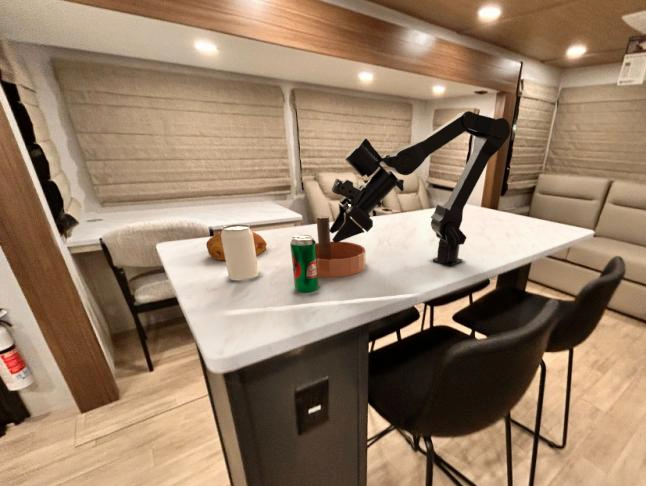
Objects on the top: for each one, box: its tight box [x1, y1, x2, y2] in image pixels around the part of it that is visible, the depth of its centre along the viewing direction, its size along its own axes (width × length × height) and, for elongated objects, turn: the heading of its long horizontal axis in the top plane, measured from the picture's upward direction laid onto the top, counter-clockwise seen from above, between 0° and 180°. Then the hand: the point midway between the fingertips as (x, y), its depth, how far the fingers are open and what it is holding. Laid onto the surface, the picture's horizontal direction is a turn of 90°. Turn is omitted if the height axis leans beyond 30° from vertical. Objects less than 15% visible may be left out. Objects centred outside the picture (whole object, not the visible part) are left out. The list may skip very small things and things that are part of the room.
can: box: [221, 224, 260, 282], centre depth 71 cm, size 6×6×12 cm
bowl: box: [316, 240, 367, 279], centre depth 80 cm, size 16×16×5 cm
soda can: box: [289, 234, 320, 294], centre depth 66 cm, size 5×5×12 cm
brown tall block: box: [316, 215, 331, 260], centre depth 78 cm, size 4×3×13 cm
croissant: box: [206, 231, 267, 261], centre depth 88 cm, size 14×16×8 cm
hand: (332, 236), depth 78 cm, fingers open, 9 cm apart
